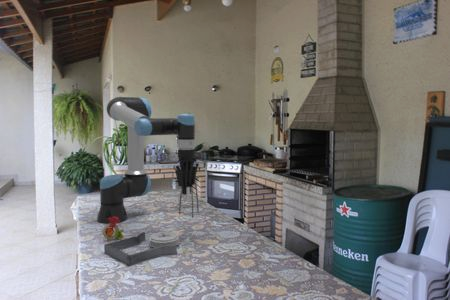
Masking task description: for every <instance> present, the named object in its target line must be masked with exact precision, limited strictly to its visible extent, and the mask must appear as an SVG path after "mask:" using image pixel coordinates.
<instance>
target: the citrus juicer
mask: <svg viewBox="0 0 450 300" xmlns="http://www.w3.org/2000/svg"><path fill="white" fill-rule="evenodd" d="M180 187H181V186H180ZM194 187H195V188H194V189H195V196H196V210H197V211H196V212H197V213H199V210H200V209H199V208H200V207H199V195H198V186H197V180H196V179H195V184H194ZM190 194H191V218H194V192H193V186H192V187H191V193H190ZM179 195H180V196H179V206H178V215H180V214H181V208H182V197H183V194H182V187H181V189H180V194H179Z"/></svg>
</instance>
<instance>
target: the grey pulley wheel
mask: <svg viewBox="0 0 450 300" xmlns="http://www.w3.org/2000/svg"><path fill="white" fill-rule="evenodd" d="M179 238H180V237H179V235H178V234H177V233H175V232H171V231H159V232H155V233H153V234H151V235H150V236H149V237H148V240H149V243H148V245H149V247H151V248H155V247H159V246H165V245H177V246H178V245H179V244H180V243H179V242H180V241H179Z"/></svg>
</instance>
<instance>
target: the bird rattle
mask: <svg viewBox="0 0 450 300" xmlns="http://www.w3.org/2000/svg"><path fill="white" fill-rule="evenodd" d="M108 220H109V221H110V223H106V225H104V227H103V228H102V236H103V237H104V238H105V239H106V241H107V242H108V241H111V240H114V239H118V241H120V240H123V238H124V234H123V233H124V229H120V228H119V226H118V225H117V224H119V223H121V222H120V220H119V219H118V217H115V216H114V217H109V218H108Z"/></svg>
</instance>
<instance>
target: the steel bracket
mask: <svg viewBox="0 0 450 300" xmlns="http://www.w3.org/2000/svg"><path fill="white" fill-rule="evenodd" d="M145 241H146V232H145V231H142V232H141V233H139V234H137V235H136V236H131V237H128V238H124V239H121V240H117V241H113V242H109V243H105V244H104V254H105V255H108V256H109V257H111V258H113V259H114V260H117V261H119V262H120V263H122V264H125V265H127V266H129V267H130V266H133V265H136V264H139V263H142V262H146V261H149V260H152V259H155V258H159V257H161V256H168V255H170V256H171V255H177V254H178V249H177V248H178V245H165V246H159V247H155V248H153V247H151V248H149V249H145V250H142V251H139V252H135V253H133V254H128V252H124V251H122V250H124V249H128V248H131V247H135V246H139V245H141V244H142V243H144V242H145Z"/></svg>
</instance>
